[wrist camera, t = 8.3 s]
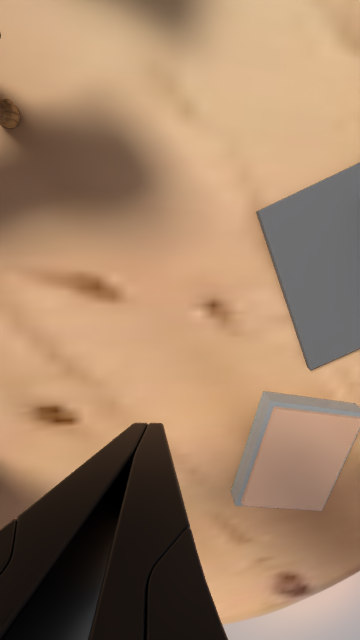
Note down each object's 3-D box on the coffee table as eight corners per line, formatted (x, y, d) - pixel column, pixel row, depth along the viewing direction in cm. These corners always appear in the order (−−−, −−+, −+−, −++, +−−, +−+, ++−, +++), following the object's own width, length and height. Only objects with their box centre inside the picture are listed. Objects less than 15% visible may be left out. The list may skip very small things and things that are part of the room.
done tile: (310, 492, 25) (324, 514, 23) (229, 486, 24) (236, 509, 22) (350, 399, 22) (370, 415, 20) (260, 387, 21) (272, 403, 19)
